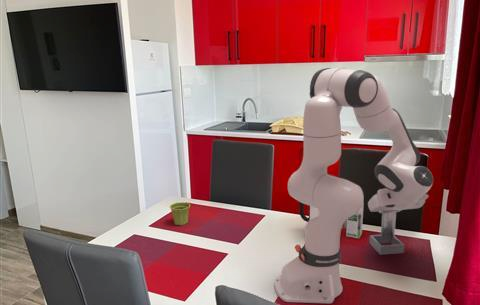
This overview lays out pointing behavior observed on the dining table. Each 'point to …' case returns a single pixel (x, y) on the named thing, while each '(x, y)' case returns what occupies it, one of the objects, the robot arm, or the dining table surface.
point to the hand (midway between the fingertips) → (388, 210)
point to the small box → (344, 224)
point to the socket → (386, 249)
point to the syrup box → (355, 224)
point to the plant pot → (180, 212)
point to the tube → (388, 223)
